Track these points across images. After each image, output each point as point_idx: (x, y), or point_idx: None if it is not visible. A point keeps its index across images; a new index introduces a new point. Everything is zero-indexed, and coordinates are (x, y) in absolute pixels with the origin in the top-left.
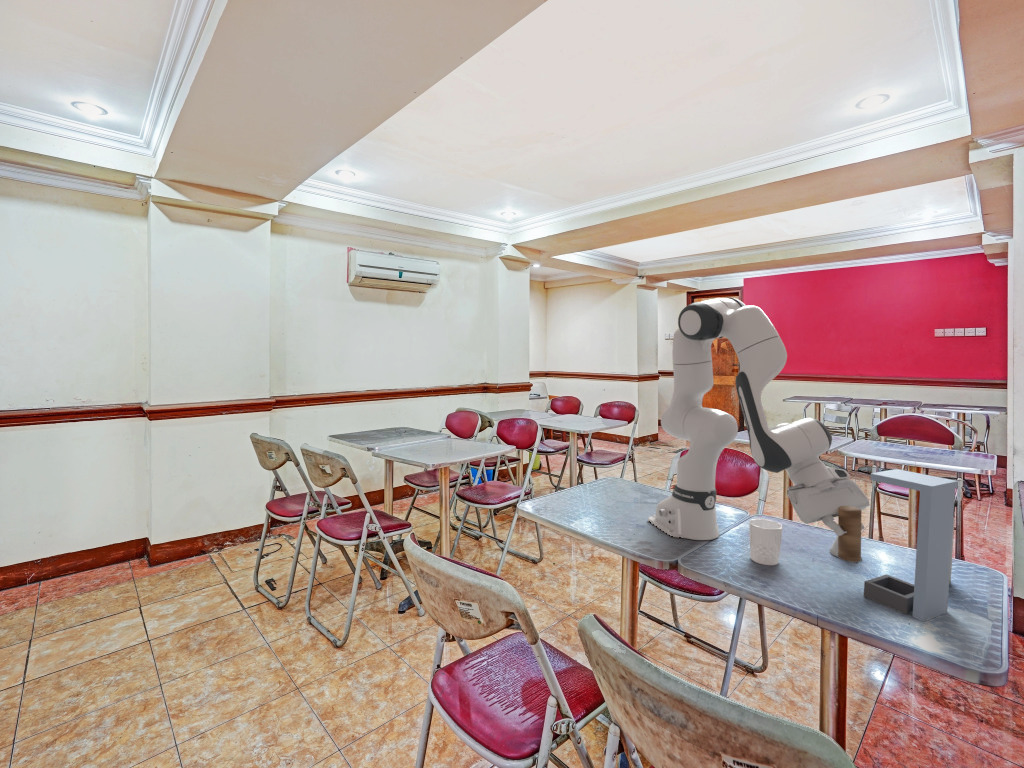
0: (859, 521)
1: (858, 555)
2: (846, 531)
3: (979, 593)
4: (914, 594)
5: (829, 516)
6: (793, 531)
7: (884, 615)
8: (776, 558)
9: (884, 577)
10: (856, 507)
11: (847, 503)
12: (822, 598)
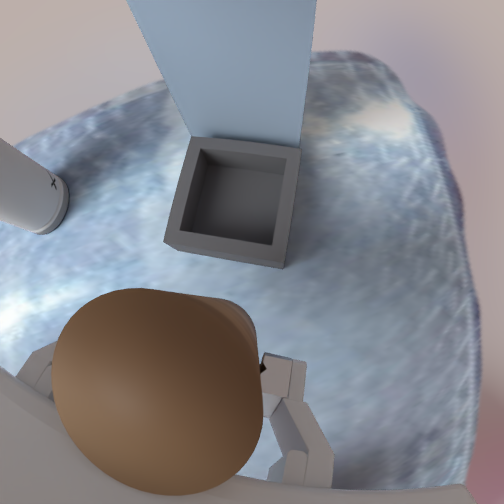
0: (190, 295)
1: (226, 300)
2: (265, 355)
3: (62, 136)
4: (301, 126)
5: (314, 482)
6: None
7: (349, 197)
8: None
9: (194, 236)
10: (5, 374)
11: (28, 444)
12: (391, 328)
